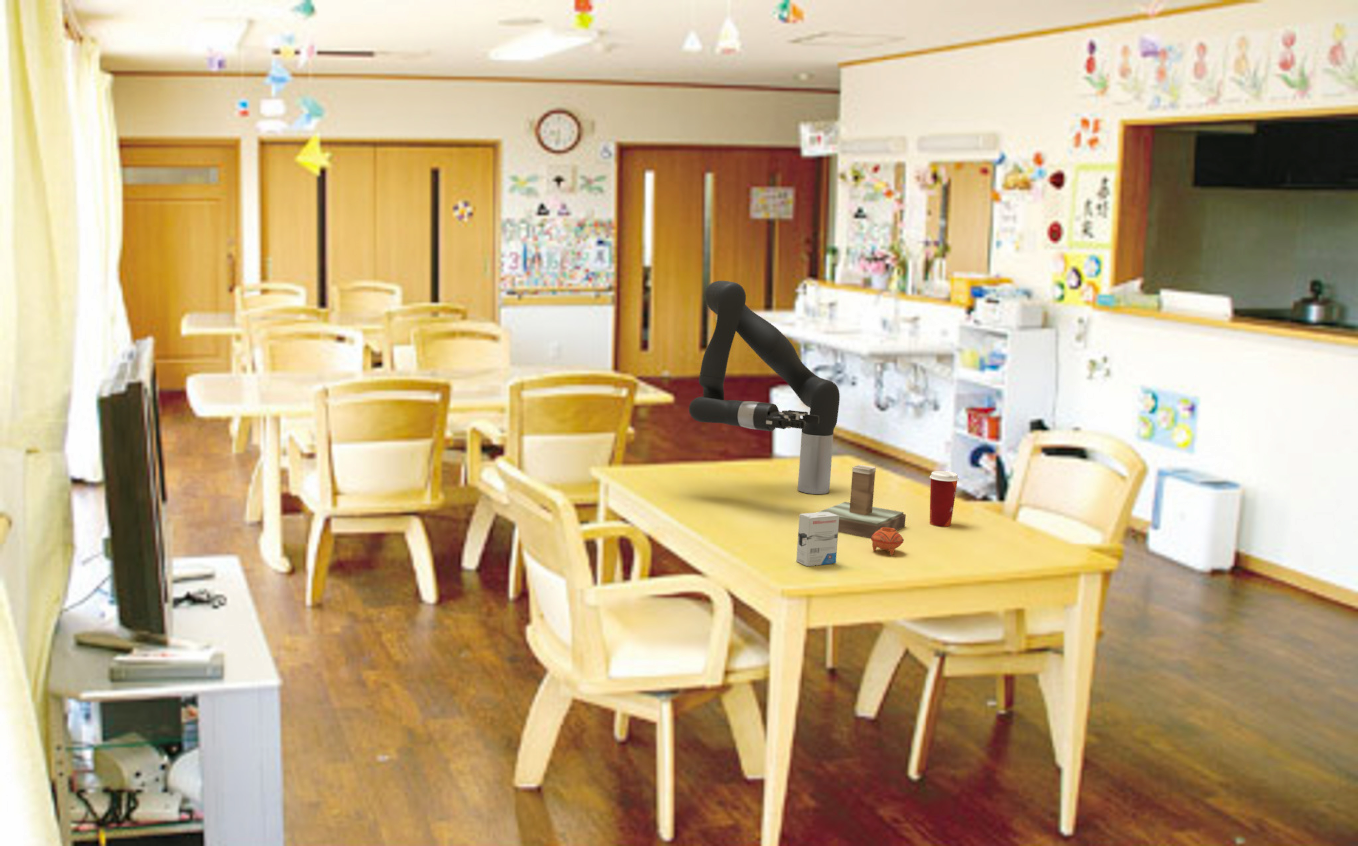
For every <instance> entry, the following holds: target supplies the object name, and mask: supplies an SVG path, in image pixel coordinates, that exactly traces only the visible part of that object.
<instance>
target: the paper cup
mask: <svg viewBox="0 0 1358 846" xmlns="http://www.w3.org/2000/svg"><path fill="white" fill-rule="evenodd" d="M929 479H930V489H929V490H930V493H929V494H930V496H929V497H930V499H929V524H930V525H931V526H936V527H942V528H943V527H947V528H948V527H950V526H951V525H952V524H951V523H952V520H953V514H954V505H955V499H956V494H957V493H956V492H957V485H958V481H959V478H958V474H957V473H955V472H953V471H946V470H933V471H932V472H931V475H929Z"/></svg>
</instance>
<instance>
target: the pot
mask: <svg viewBox="0 0 1358 846" xmlns="http://www.w3.org/2000/svg"><path fill="white" fill-rule="evenodd" d="M895 530H896V529H894V528H887V527H882V528H881V529H880V530H878V531H876V532H875V533H874V534H873V535H872V537H871V538H870V541H871V542H872V543H871V544H872V545H871V546H872V549H873V551H874V552H876V549H877V548H879V549H880V550H883V551H889V554H891V555H890V556H893V555H894V553H895V550H896V549H897V548H899V547H900V546H901V545H903V543H904V540H905V539H904V538H903V536H902V535H901V533H899V532H898V530H897V531H895Z"/></svg>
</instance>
